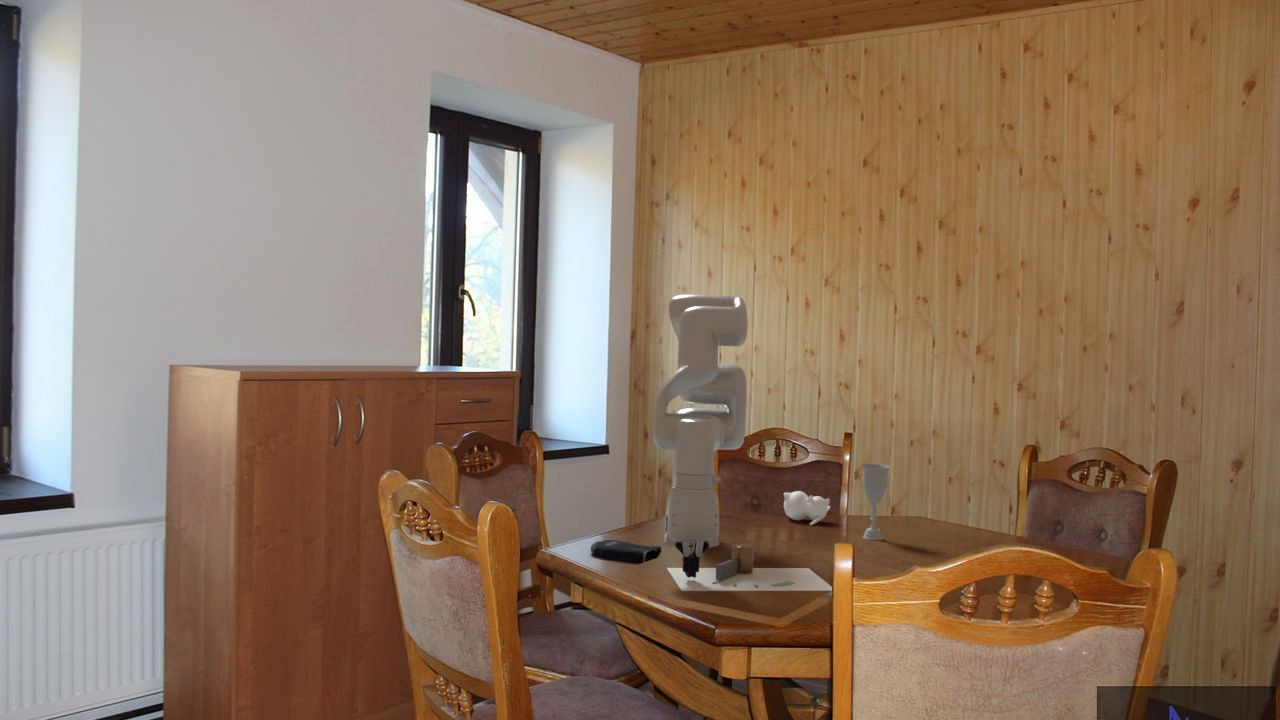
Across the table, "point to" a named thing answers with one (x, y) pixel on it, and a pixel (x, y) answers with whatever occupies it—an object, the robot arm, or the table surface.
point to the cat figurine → (805, 506)
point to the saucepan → (736, 562)
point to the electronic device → (625, 551)
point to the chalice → (874, 493)
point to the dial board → (753, 580)
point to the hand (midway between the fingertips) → (690, 575)
